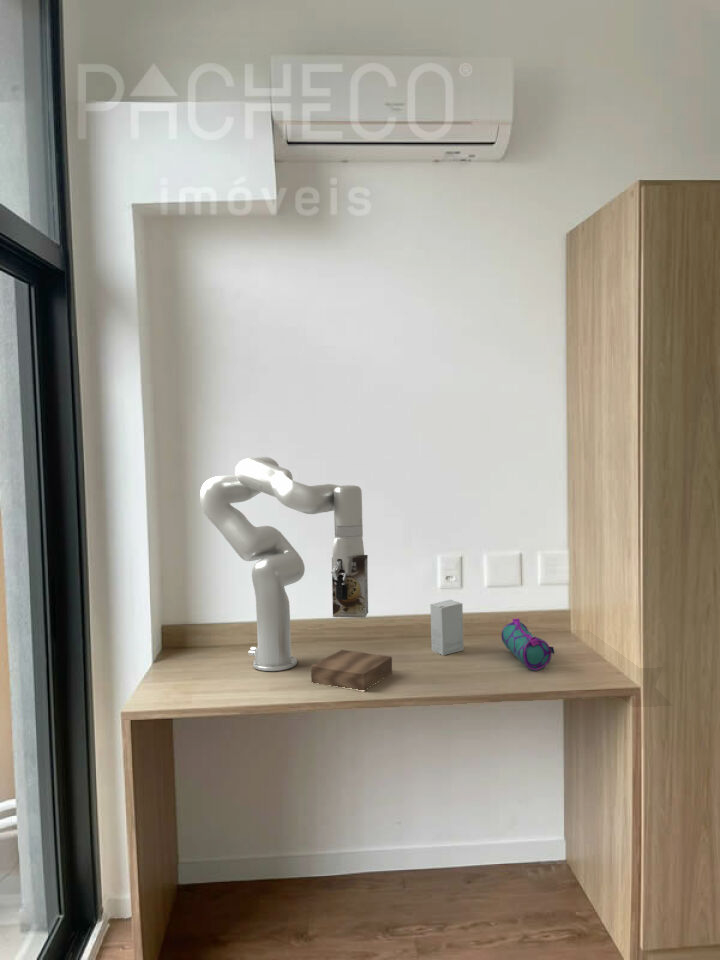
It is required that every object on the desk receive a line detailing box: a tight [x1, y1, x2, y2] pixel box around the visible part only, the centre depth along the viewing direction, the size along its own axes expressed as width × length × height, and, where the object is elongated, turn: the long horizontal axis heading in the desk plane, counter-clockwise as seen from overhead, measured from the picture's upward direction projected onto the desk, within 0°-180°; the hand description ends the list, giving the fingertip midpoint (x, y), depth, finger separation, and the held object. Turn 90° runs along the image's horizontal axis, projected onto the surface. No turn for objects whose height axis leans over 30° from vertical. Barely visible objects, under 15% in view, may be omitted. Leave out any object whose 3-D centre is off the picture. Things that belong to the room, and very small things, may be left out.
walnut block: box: [310, 649, 393, 691], centre depth 191 cm, size 16×16×5 cm
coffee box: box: [331, 554, 369, 619], centre depth 190 cm, size 9×6×16 cm
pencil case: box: [500, 618, 555, 672], centre depth 203 cm, size 21×9×10 cm, turn 6°
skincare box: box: [430, 599, 464, 656], centre depth 213 cm, size 8×6×15 cm
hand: (350, 595), depth 190 cm, fingers closed on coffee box, 8 cm apart
